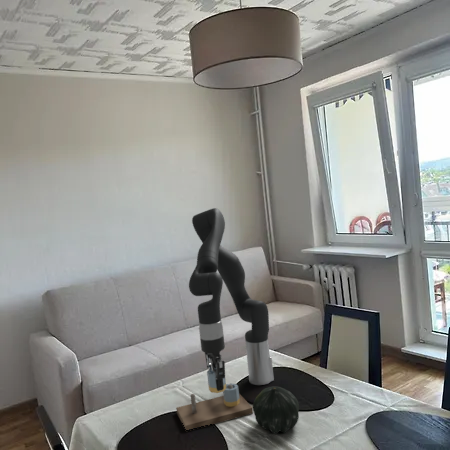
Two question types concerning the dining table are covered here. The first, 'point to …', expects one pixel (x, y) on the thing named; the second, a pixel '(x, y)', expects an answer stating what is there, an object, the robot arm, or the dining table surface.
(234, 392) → the seated sleeve
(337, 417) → the dining table surface
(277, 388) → the squash
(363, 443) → the dining table surface
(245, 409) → the pin board
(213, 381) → the slate sleeve
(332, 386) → the dining table surface
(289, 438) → the dining table surface
